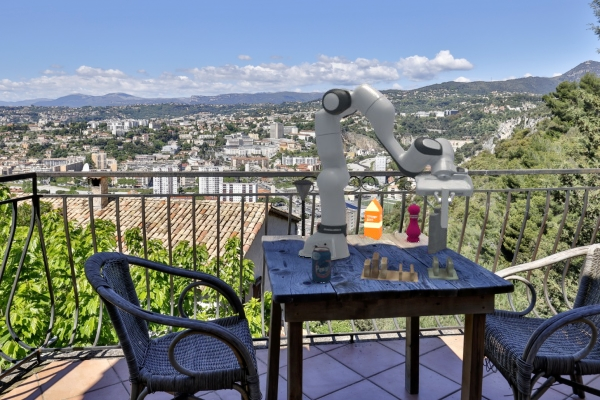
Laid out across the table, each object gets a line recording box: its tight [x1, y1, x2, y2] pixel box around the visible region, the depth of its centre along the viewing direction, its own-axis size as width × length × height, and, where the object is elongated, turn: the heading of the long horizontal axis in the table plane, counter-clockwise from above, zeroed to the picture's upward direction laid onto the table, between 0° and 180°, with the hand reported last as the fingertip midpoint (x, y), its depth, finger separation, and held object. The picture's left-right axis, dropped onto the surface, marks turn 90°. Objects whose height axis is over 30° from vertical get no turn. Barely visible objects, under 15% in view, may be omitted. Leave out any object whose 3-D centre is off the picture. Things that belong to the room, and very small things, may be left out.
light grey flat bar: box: [440, 187, 450, 229], centre depth 164 cm, size 2×5×14 cm, turn 167°
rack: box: [360, 252, 419, 283], centre depth 167 cm, size 20×12×8 cm, turn 78°
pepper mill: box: [405, 201, 422, 243], centre depth 227 cm, size 7×7×20 cm
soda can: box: [311, 247, 332, 284], centre depth 165 cm, size 7×7×12 cm
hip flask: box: [427, 206, 448, 255], centre depth 208 cm, size 16×4×20 cm, turn 140°
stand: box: [426, 256, 459, 281], centre depth 168 cm, size 10×12×7 cm
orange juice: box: [363, 198, 383, 240], centre depth 236 cm, size 8×9×20 cm
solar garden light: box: [291, 179, 316, 237], centre depth 233 cm, size 12×12×30 cm
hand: (444, 203), depth 165 cm, fingers closed on light grey flat bar, 2 cm apart
